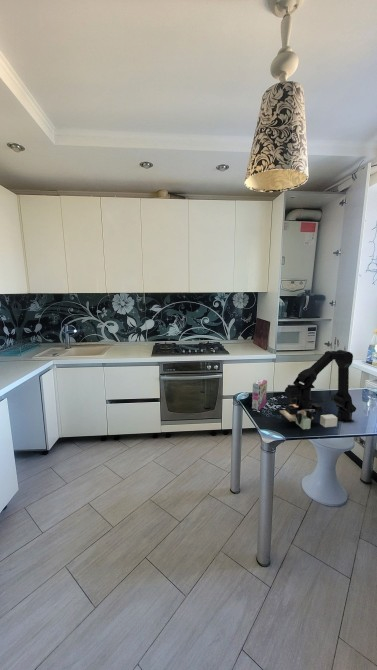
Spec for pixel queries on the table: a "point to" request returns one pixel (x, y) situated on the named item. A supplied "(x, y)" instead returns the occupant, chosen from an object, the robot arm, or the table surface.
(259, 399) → the candy bar box
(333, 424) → the cream brick
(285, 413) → the birch board
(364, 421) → the table surface
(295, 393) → the robot arm
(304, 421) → the sage brick
